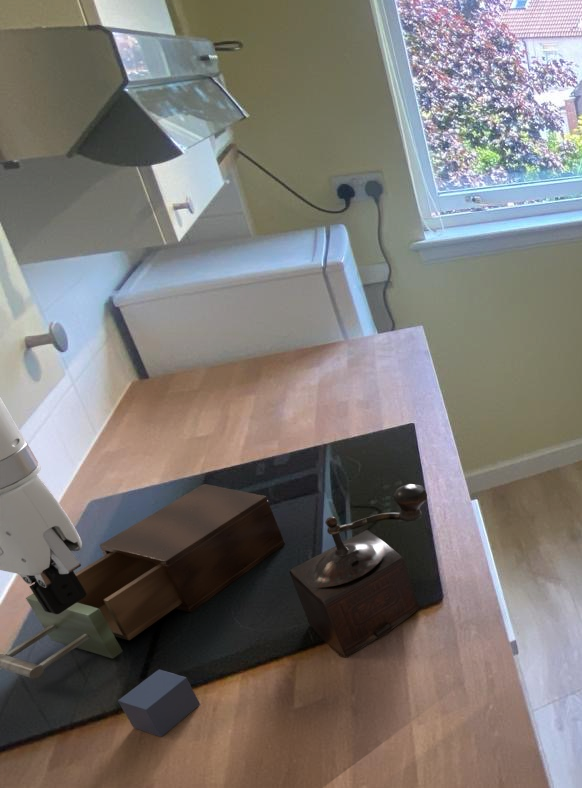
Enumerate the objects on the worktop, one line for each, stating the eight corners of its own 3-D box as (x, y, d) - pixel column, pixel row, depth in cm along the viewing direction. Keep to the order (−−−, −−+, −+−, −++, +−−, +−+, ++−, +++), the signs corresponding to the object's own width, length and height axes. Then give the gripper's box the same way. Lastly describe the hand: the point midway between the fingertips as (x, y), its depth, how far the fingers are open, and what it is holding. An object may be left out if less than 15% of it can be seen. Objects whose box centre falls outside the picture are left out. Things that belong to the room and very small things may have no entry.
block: (161, 737, 83) (145, 709, 81) (133, 728, 85) (117, 700, 83) (200, 704, 87) (186, 677, 85) (173, 695, 88) (158, 668, 87)
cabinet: (190, 613, 101) (165, 561, 97) (125, 595, 104) (98, 545, 100) (285, 544, 113) (266, 496, 110) (224, 530, 117) (203, 483, 113)
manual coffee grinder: (345, 663, 92) (302, 550, 85) (306, 624, 98) (263, 516, 91) (459, 589, 104) (430, 484, 96) (418, 559, 110) (388, 458, 102)
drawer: (54, 700, 87) (26, 655, 84) (-9, 679, 90) (-39, 635, 87) (216, 584, 104) (198, 544, 101) (158, 570, 107) (139, 530, 104)
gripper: (-110, 484, 75) (-18, 617, 83) (-10, 503, 71) (77, 641, 79) (-19, 444, 81) (58, 571, 89) (76, 459, 78) (149, 591, 85)
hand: (67, 603), depth 84 cm, fingers closed
